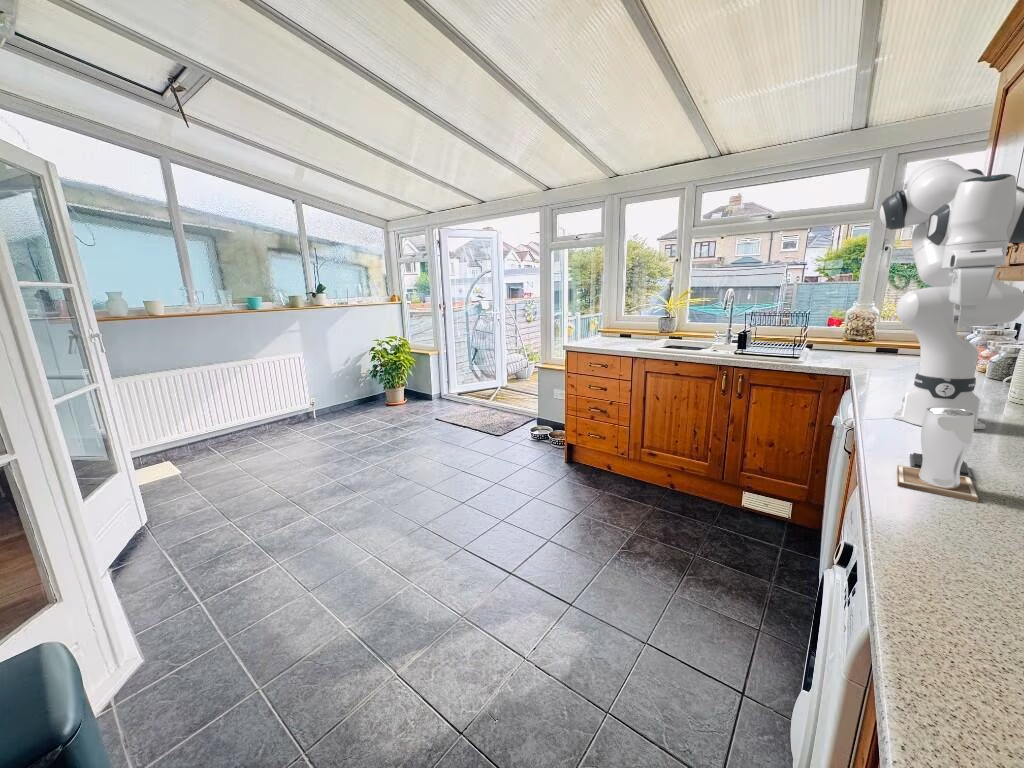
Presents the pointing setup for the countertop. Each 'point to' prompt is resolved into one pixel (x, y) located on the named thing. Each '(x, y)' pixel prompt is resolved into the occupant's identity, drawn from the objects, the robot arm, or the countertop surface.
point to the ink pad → (917, 459)
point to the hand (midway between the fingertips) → (961, 325)
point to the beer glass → (945, 445)
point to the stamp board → (909, 480)
